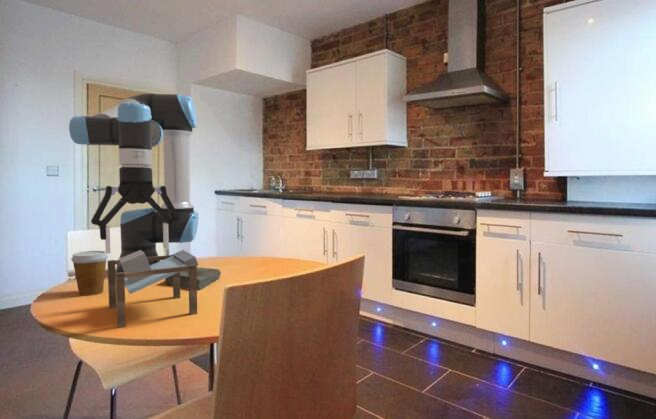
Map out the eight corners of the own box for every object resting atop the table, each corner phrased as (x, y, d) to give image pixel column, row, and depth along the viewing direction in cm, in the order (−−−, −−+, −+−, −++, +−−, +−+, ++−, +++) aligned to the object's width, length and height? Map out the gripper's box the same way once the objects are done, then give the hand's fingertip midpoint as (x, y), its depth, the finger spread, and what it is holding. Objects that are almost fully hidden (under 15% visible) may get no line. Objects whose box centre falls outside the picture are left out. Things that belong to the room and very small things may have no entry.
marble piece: (200, 291, 125) (199, 278, 125) (157, 288, 128) (157, 275, 128) (224, 278, 141) (224, 266, 141) (186, 276, 144) (186, 264, 144)
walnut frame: (109, 306, 108) (107, 260, 107) (178, 296, 118) (178, 253, 118) (118, 327, 93) (116, 274, 92) (197, 313, 104) (196, 265, 103)
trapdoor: (122, 283, 108) (119, 275, 108) (184, 256, 117) (181, 249, 116) (131, 297, 96) (127, 288, 95) (200, 266, 105) (197, 257, 104)
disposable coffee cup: (76, 290, 124) (74, 251, 123) (111, 287, 127) (109, 249, 127) (69, 298, 115) (67, 257, 114) (106, 295, 119) (105, 255, 118)
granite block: (127, 279, 104) (118, 258, 103) (149, 270, 107) (140, 249, 106) (131, 284, 100) (121, 262, 98) (153, 274, 103) (144, 253, 101)
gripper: (78, 165, 91) (82, 257, 93) (190, 167, 105) (191, 247, 107) (76, 165, 97) (80, 252, 99) (182, 168, 111) (184, 243, 113)
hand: (138, 250), depth 103 cm, fingers open, 13 cm apart
